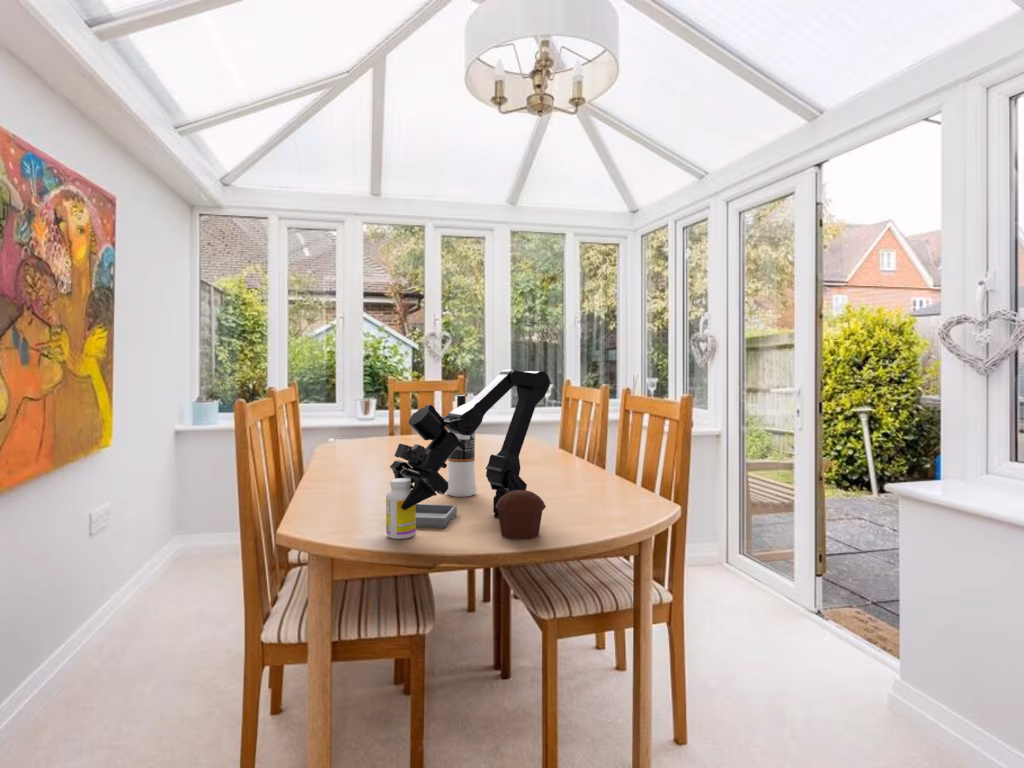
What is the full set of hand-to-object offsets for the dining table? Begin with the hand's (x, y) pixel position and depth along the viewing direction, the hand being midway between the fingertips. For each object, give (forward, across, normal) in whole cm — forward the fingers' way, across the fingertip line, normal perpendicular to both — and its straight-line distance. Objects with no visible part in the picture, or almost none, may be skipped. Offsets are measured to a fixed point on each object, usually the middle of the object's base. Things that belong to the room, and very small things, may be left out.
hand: (395, 505), depth 135 cm
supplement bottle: (+4, 0, +6) cm, 7 cm away
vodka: (-20, -28, +31) cm, 46 cm away
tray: (-4, -8, +14) cm, 17 cm away
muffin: (-12, +16, +22) cm, 30 cm away
